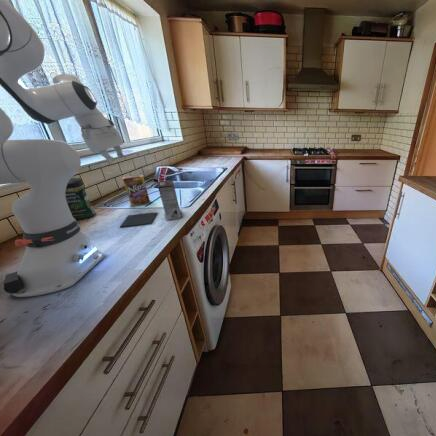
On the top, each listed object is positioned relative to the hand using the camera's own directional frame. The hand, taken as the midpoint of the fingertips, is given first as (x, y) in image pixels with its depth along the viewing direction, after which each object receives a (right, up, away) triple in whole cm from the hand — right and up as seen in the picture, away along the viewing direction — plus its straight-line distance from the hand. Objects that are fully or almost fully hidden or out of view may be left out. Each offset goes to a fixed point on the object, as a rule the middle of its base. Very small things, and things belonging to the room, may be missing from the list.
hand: (117, 159), depth 93 cm
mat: (+2, -25, +11) cm, 28 cm away
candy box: (-9, -17, +29) cm, 35 cm away
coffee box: (+15, -23, +16) cm, 32 cm away
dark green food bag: (-28, -24, +15) cm, 39 cm away
